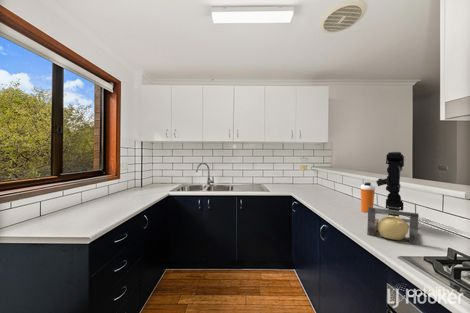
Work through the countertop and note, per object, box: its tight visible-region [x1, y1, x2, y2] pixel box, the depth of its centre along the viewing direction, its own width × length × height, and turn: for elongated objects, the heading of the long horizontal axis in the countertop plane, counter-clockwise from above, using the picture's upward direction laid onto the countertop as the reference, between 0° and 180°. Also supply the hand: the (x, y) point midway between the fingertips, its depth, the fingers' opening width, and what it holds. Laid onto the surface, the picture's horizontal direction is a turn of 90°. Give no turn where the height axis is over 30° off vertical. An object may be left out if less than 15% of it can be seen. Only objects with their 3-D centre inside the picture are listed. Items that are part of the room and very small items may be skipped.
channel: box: [366, 206, 419, 245], centre depth 124 cm, size 20×20×14 cm
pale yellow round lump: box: [377, 215, 410, 241], centre depth 118 cm, size 12×12×11 cm
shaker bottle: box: [360, 181, 376, 214], centre depth 171 cm, size 9×9×20 cm
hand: (392, 201), depth 140 cm, fingers closed
